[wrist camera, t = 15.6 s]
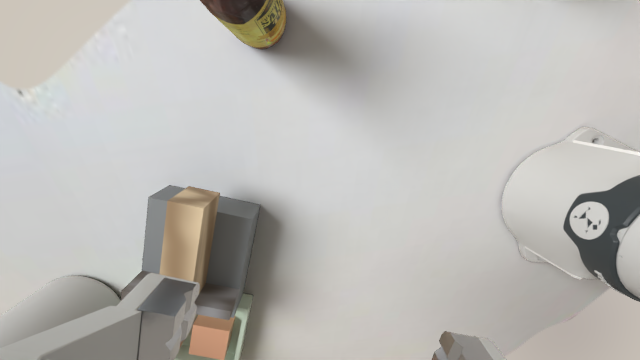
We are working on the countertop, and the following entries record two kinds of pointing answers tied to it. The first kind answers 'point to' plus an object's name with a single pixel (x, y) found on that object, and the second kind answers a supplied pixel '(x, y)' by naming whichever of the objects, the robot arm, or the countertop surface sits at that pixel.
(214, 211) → the grey and tan blocks
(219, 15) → the sauce bottle
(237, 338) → the tray
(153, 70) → the countertop surface
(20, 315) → the cylinder vase
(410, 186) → the countertop surface
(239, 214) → the board
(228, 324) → the peach block
